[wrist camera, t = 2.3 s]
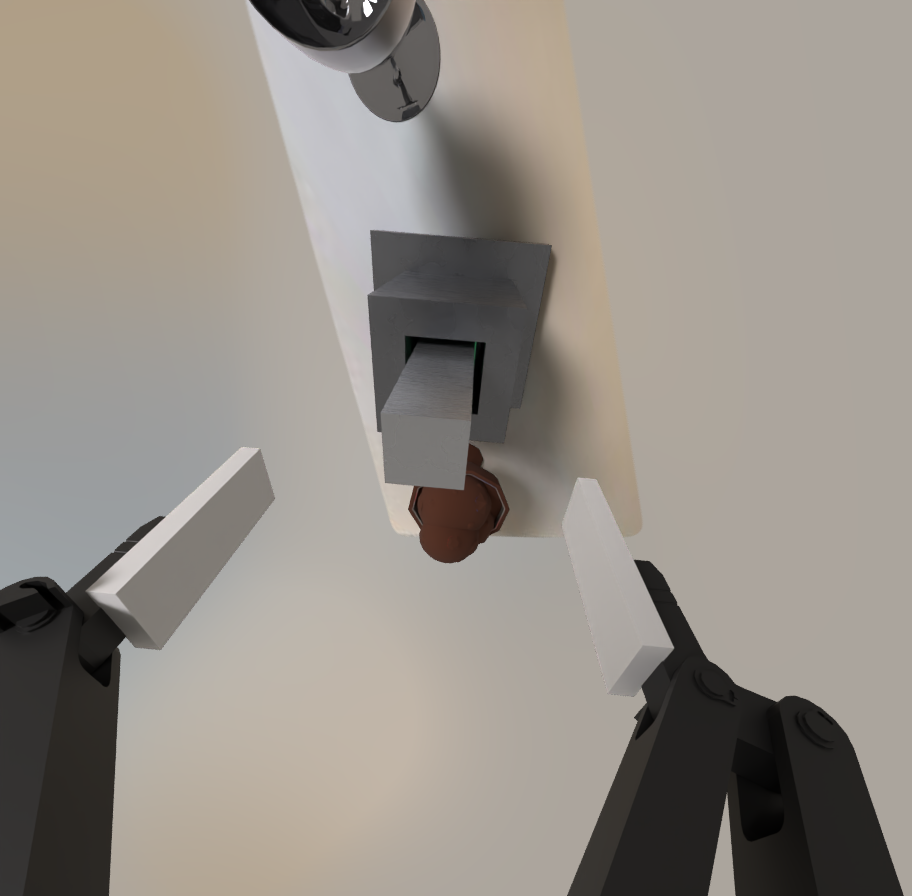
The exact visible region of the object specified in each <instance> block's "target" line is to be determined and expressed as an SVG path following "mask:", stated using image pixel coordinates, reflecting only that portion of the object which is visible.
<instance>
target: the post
mask: <svg viewBox="0 0 912 896" xmlns="http://www.w3.org/2000/svg"><path fill="white" fill-rule="evenodd" d="M475 352H476V342H474V341H462V340H451V339H439V338H428V337H420V339H419V341H418V343H417V345H416V347H415V349H414V350H413V352H412V354H411V356H410V358H409V360H408V362H407V364H406V366H405V368H404V369H403V371H402V373H401V375H400V377H399V379H398V381H397V383H396V385H395V387H394V388H393V390H392V392H391V394H390V396H389V398H388V400H387V402H386V404H385V406H384V407H383V409H382V411H381V427H382V443H383V458H384V474H385V483H391V484H402V485H413V486H424V487H434V488H445V489H456V490H464V484H465V474H466V465H467V455H468V446H469V437H470V427H471V414H472V393H473V373H474V362H475Z"/></svg>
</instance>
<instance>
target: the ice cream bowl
mask: <svg viewBox="0 0 912 896" xmlns="http://www.w3.org/2000/svg"><path fill="white" fill-rule="evenodd" d="M482 461H483V458H482V455H481V453H480V450H479V449H478V448H476V447H475V446H473V445H471V444H470V443H469V446H468V455H467V465H466V474H465V484H464V490H456V489H445V488H434V487H424V486H414V488H413V492H412V496H411V500H410V504H409V508H408V510H409V511H410V513H411V515H412V516H413V518H414V520H415V521H416V523H417V524H418V526H419V528H420V529H421V531H420V533H419V536H420V543H421V545H422V548H423V549H424V551H425V552H426V553H427V554H428V555H429V556H430V557H432V558H433V559H435V560H437V561H440V562H443V563H454V562H460V561H461V560H464V559H465V558H466V557H468V556H469V555H471V554H472V553H474V551H475V550H476V549H477V546H478V544H480V543H484V542H485V541H486V539H487V538H488V537H489V535H491V534H493V533H495V532H497V531H499V530H500V528H501V526H502V524H503V522H504V520H505V518H506V516H507V514H508V512H509V507H508V504H507V501H506V499H505V496H504V494H503V491H502V489H501V487H500V484H499V482H498V479H497V478H496V477H495V476H494V475H493V474H492V473H490V472H488V471H487V470H485V469H483V468H481V467H480V466H481V464H482Z"/></svg>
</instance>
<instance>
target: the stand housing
mask: <svg viewBox="0 0 912 896" xmlns="http://www.w3.org/2000/svg"><path fill="white" fill-rule="evenodd" d="M370 234H371V250H372V266H373V282H374V291H373V292H372V293H370V294H369V295H368V307H369V321H370V335H371V349H372V363H373V376H374V390H375V404H376V418H377V431H378V432H382V427H381V411H382V409H383V407H384V406H385V404H386V402H387V400H388V398H389V396H390V394H391V392H392V390H393V388H394V387H395V385H396V383H397V381H398V379H399V377H400V375H401V373H402V371H403V369H404V368H405V366H406V364H407V362H408V360H409V358H410V356H411V354H412V352H413V350H414V349H415V347H416V345H417V343H418V341H419V339H420V337H428V338H439V339H451V340H462V341H474V342H476V352H475V362H474V373H473V393H472V414H471V427H470V437H469V440H474V441H485V442H497V443H504V439H505V434H506V428H507V422H508V417H509V411H510V408H520V407H521V401H522V396H523V391H524V386H525V381H526V376H527V370H528V365H529V360H530V355H531V350H532V345H533V340H534V334H535V329H536V324H537V319H538V314H539V309H540V303H541V298H542V293H543V288H544V283H545V278H546V272H547V267H548V262H549V257H550V252H551V247H552V245H549V244H539V243H527V242H515V241H502V240H490V239H478V238H466V237H454V236H441V235H429V234H417V233H405V232H393V231H380V230H370Z"/></svg>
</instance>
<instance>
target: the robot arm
mask: <svg viewBox="0 0 912 896" xmlns="http://www.w3.org/2000/svg"><path fill="white" fill-rule="evenodd" d="M274 499H275V497H274V493H273V490H272V487H271V483H270V480H269V477H268V473H267V470H266V467H265V463H264V460H263V457H262V453H261V450H260V449H258V448H248V447H241V448H240V449H239V450H238V451H237V452H236V453H235V454H234V455H233V456H231V457H230V458H229V459H228V460H227V461H226V462H225V463H224V464H223V465H222V466H221V467H219V468H218V469H217V470H216V471H215V472H214V473H213V474H212V475H211V476H210V477H209V478H208V479H206V480H205V481H204V482H203V483H202V484H201V485H200V486H199V487H198V488H197V489H196V490H195V491H193V492H192V493H191V494H190V495H189V496H188V497H187V498H186V499H185V500H184V501H183V502H182V503H181V504H179V505H178V506H177V507H176V508H175V509H174V510H173V511H172V512H171V513H170V514H168V515H167V516H166V517H162V516H159V517H157V518H155V519H154V520H152V521H150V522H148V523H147V524H145V525H143V526H141V527H140V528H139V529H138V530H137V531H136V532H134V533H133V534H132V535H131V536H130V537H129V538H128V539H127V540H126V542H123V543H122V544H121V545H120V546H118V547H117V549H115V551H114V553H111V554H110V555H108V556H107V557H106V558H105V559H104V560H103V561H101V562H100V563H99V564H98V565H97V566H96V567H95V568H94V569H92V570H91V571H90V572H89V573H88V574H87V575H86V576H85V577H83V578H82V579H81V580H80V581H79V582H78V583H77V584H75V585H74V586H73V587H72V588H71V589H70V590H69V591H68V592H66V593H65V592H64V591H63V590H62V589H61V588H60V586H59V585H57V583H56V582H55V581H54V580H52V579H50V578H48V577H34V578H30V579H25V580H22V581H19V582H17V583H14V584H12V585H10V586H7V587H5V588H4V589H2V590H0V896H109V880H110V862H111V840H112V820H113V799H114V779H115V760H116V739H117V719H118V718H117V717H118V697H119V677H120V657H121V655H120V652H119V649H118V648H117V646H118V645H119V644H120V643H121V642H122V641H123V639H124V638H125V637H126V638H127V639H128V640H129V641H130V642H131V643H132V644H133V646H134V647H136V648H146V649H156V650H161V649H162V648H163V646H164V645H165V644H166V642H167V641H168V640H169V638H170V637H171V636H172V634H173V633H174V632H175V630H176V629H177V628H178V626H179V625H180V624H181V622H182V621H183V620H184V619H185V617H186V616H187V615H188V613H189V612H190V611H191V609H192V608H193V607H194V605H195V604H196V603H197V601H198V600H199V598H200V597H201V596H202V595H203V593H204V592H205V591H206V589H207V588H208V587H209V585H210V584H211V583H212V581H213V580H214V579H215V578H216V576H217V575H218V574H219V572H220V571H221V570H222V568H223V567H224V566H225V564H226V563H227V562H228V560H229V559H230V557H231V556H232V555H233V554H234V552H235V551H236V550H237V548H238V547H239V546H240V544H241V543H242V542H243V541H244V539H245V538H246V537H247V535H248V534H249V532H250V531H251V530H252V529H253V527H254V526H255V524H256V523H257V522H258V521H259V519H260V518H261V517H262V515H263V514H264V513H265V511H266V510H267V509H268V507H269V506H270V505H271V503H272V502H273V501H274ZM562 529H563V533H564V536H565V540H566V544H567V547H568V551H569V554H570V558H571V562H572V566H573V569H574V573H575V577H576V580H577V584H578V588H579V591H580V595H581V599H582V602H583V606H584V610H585V613H586V617H587V621H588V624H589V628H590V632H591V635H592V639H593V642H594V646H595V650H596V654H597V658H598V661H599V665H600V668H601V672H602V676H603V680H604V683H605V686H606V690H607V694H611V695H622V696H631V697H634V696H635V695H636V694H637V692H638V691H639V690H640V689H641V688H642V690H643V693H644V695H645V698H646V701H647V703H646V704H645V705H644V706H643V708H642V709H641V710H640V711H639V712H638V713H637V715H636V716H635V717H634V718H635V719H636V720H637V721H638V722H637V724H636V727H635V729H634V732H633V734H632V737H631V739H630V742H629V744H628V747H627V749H626V752H625V754H624V757H623V759H622V762H621V764H620V766H619V769H618V772H617V774H616V776H615V779H614V781H613V784H612V786H611V789H610V791H609V794H608V796H607V799H606V801H605V804H604V806H603V809H602V811H601V813H600V816H599V818H598V821H597V824H596V826H595V828H594V831H593V833H592V836H591V838H590V841H589V843H588V846H587V848H586V850H585V853H584V856H583V858H582V861H581V863H580V865H579V868H578V870H577V873H576V875H575V878H574V881H573V883H572V885H571V887H570V890H569V892H568V895H567V896H708V891H709V886H710V880H711V875H712V869H713V864H714V859H715V853H716V848H717V842H718V837H719V831H720V827H721V821H722V816H723V810H724V804H725V799H726V794H727V795H728V807H729V819H730V831H731V844H732V856H733V869H734V881H735V894H736V896H904V895H903V892H902V889H901V886H900V883H899V880H898V877H897V875H896V872H895V869H894V866H893V863H892V860H891V857H890V854H889V851H888V848H887V845H886V842H885V839H884V836H883V833H882V830H881V827H880V824H879V821H878V818H877V815H876V812H875V809H874V807H873V804H872V801H871V798H870V795H869V792H868V789H867V786H866V783H865V780H864V777H863V774H862V771H861V768H860V765H859V762H858V759H857V756H856V753H855V750H854V748H853V746H852V744H851V742H850V740H849V738H848V736H847V734H846V733H845V732H844V730H843V729H842V728H841V727H840V726H839V725H838V723H837V722H836V721H835V720H834V719H833V718H832V717H831V716H829V715H828V714H827V713H826V712H825V711H824V710H823V709H822V708H820V707H818V706H816V705H815V704H814V703H812V702H810V701H808V700H806V699H803V698H800V697H798V696H786V697H784V698H783V699H781V700H780V701H779V702H775V701H773V700H771V699H768V698H766V697H763V696H761V695H758V694H756V693H754V692H751V691H749V690H746V689H744V688H742V687H740V686H738V685H736V684H735V683H734V682H733V681H732V679H731V678H730V677H729V676H728V674H726V673H725V672H724V671H723V670H722V669H720V668H719V667H718V666H717V665H716V664H714V663H712V662H710V661H708V659H707V658H706V656H705V654H704V653H703V651H702V649H701V647H700V645H699V643H698V641H697V640H696V638H695V636H694V634H693V632H692V630H691V628H690V626H689V624H688V622H687V621H686V618H685V617H684V615H683V613H682V611H681V609H680V607H679V606H677V601H676V599H675V598H674V596H673V594H672V593H671V592H670V588H669V586H668V584H667V582H666V580H665V578H664V577H663V575H662V574H661V573H660V572H659V571H658V570H657V568H656V567H655V566H654V565H653V564H652V563H651V562H650V561H641V560H633V558H632V556H631V553H630V551H629V549H628V547H627V545H626V543H625V540H624V538H623V536H622V534H621V532H620V529H619V527H618V525H617V523H616V521H615V519H614V516H613V514H612V512H611V510H610V508H609V506H608V503H607V501H606V499H605V497H604V495H603V492H602V490H601V488H600V486H599V484H598V482H597V479H590V478H579V477H578V478H577V481H576V484H575V486H574V489H573V492H572V495H571V498H570V501H569V504H568V507H567V510H566V513H565V516H564V519H563V522H562Z"/></svg>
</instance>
